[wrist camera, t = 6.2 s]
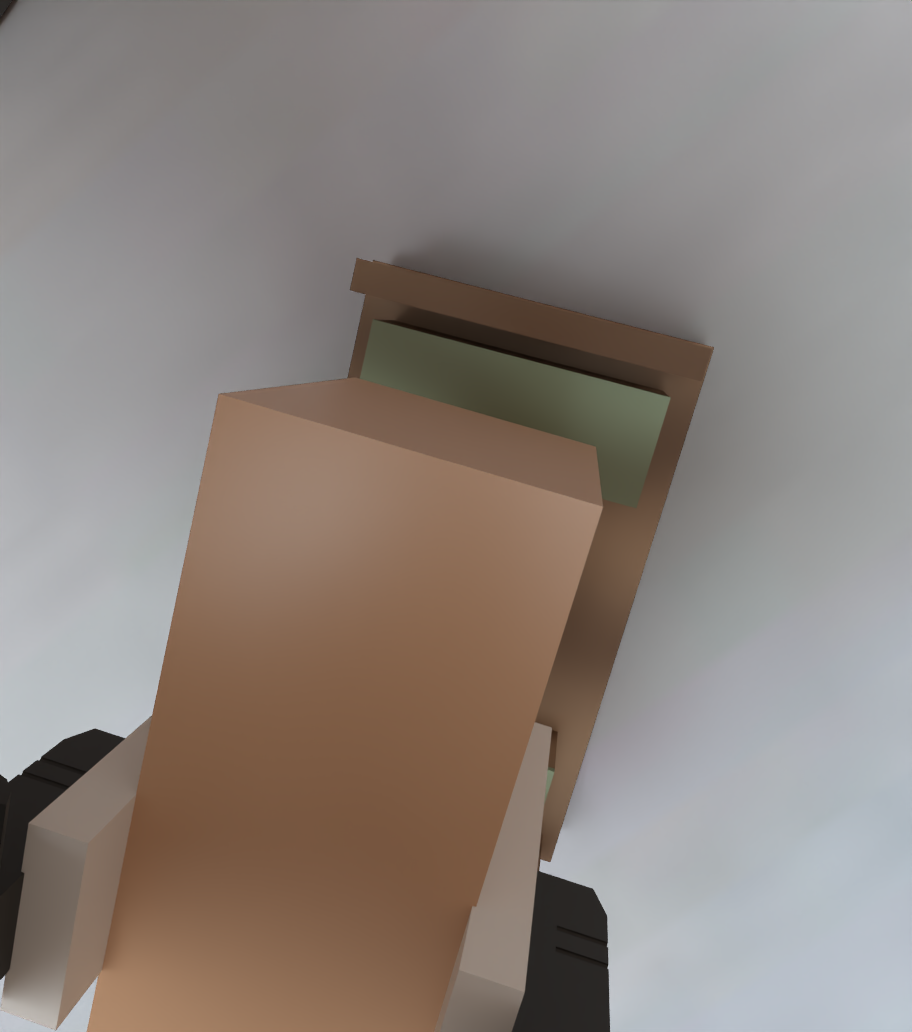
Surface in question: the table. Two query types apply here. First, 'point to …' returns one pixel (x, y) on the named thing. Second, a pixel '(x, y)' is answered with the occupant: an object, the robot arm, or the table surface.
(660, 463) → the stand
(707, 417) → the table surface
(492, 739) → the tan rectangular block
